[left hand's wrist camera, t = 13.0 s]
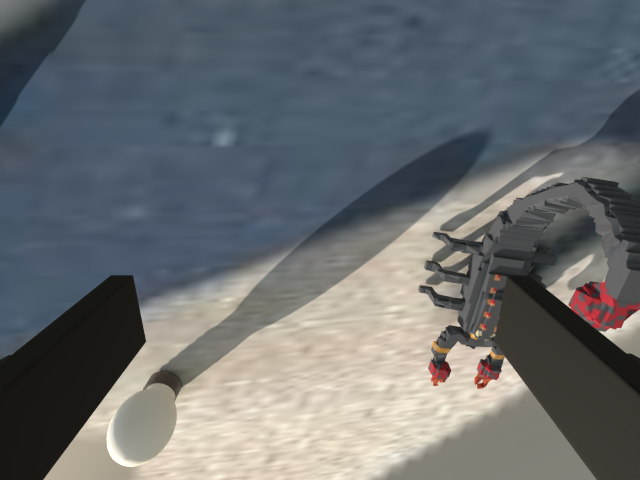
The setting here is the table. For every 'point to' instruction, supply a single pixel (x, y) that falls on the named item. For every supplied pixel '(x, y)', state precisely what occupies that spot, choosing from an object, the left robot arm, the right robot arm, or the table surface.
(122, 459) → the light bulb
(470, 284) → the toy
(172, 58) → the table surface
